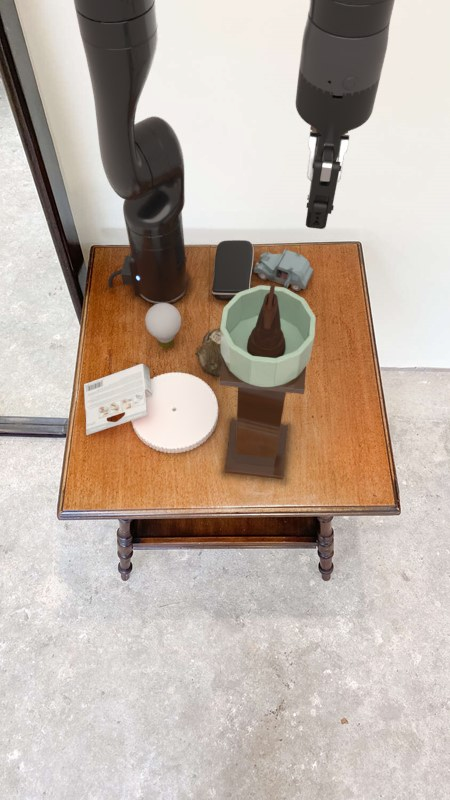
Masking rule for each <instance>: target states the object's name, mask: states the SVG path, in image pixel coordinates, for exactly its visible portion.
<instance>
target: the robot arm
mask: <svg viewBox="0 0 450 800" xmlns="http://www.w3.org/2000/svg"><path fill="white" fill-rule="evenodd" d="M395 1H396V0H309V4H308V11H307V12H308V13H307V17H306V21H305V25H304V29H303V34H302V39H301V49H300V58H299V67H298V68H299V69H298V75H297V85H296V93H295V94H296V95H295V109H296V111H297V114H298V115H299V117H300V118H301V119H302V120H303V122H305V123H306V124H308V125H309V126H310V128H309V129H310V131H309V136H308V137H309V138H308V145H307V147H308V150H309V154H308V155H309V156H308V163H307V171H306V178H307V180H309V181H310V186H309V192H308V194H307V197H306V200H307V202H306V208H305V209H307V213H306V218H305V226H306V228H309V229H316V230H317V229H319V230H325V229H326V227H327V224H328V217H329V215H331V214H332V211H334V207H335V206H334V200H335V197H336V191H337V185H338V183H339V182H340V181H341V177H342V172H343V166H344V160H345V159H344V157H345V155H346V153H347V152H348V150H349V149H348V148H349V144H350V143H349V142H350V134H349V132H350V131H353V130H356V129H358V128H359V127H362V126H363V125H364V124H365V123H367V121H369V119H370V117H371V116H372V114H373V110H374V106H375V102H376V98H377V94H378V89H379V85H380V79H381V76H382V73H383V67H384V63H385V58H386V54H387V49H388V44H389V33H390V25H391V18H392V15H393V10H394V5H395ZM73 4H74V9H75V15H76V19H77V24H78V28H79V34H80V38H81V43H82V46H83V50H84V54H85V58H86V64H87V68H88V73H89V78H90V84H91V88H92V89H91V90H92V94H93V101H94V111H95V119H96V130H97V137H98V146H99V155H100V160H101V164H102V167H103V171H104V174H105V177H106V179H107V182H108V183H109V185H110V187H111V188H112V190H113V192H114V193H115V194H116V195H117V196H118V197H119V198H121V199H123V203H122V211H123V213H122V214H123V219H124V223H125V229H126V234H127V239H128V244H129V250H130V251H129V255H125V257H124V261H123V265H122V268H121V269H118V270H116V271H114V272H112V273H111V274H110V275H109V277H108V285H107V287H109V288H112V287H113V283H114V282H113V281H114V279H115V278H116V277H117V276H119V275H120V276H121V281H122V285H125V286H132V288H133V292H134V296H135V297H140V298H141V299H142V300H143V301H145V302H147V303H149V304H151V305H153V306H154V305H156V304H158V303H168V304H171V305H173V304H174V303H177V302H179V300H181V299H182V298H183V297H184V296H185V295H186V293H187V291H188V289H189V278H188V271H187V264H188V263H187V255H186V247H185V235H184V225H183V210H184V207H185V203H186V202H185V201H186V196H185V195H186V194H185V191H186V190H185V160H184V153H183V148H182V145H181V142H180V139H179V137H178V135H177V133H176V131H175V129H174V128H173V127H172V125H171V124H170V123H169V122H168V121H167V120H165V119H164V118H162V117H159V116H153V115H152V116H149V117H146V118H144V119H142V120H140V121H138V122H136V121H135V120H136V112H137V109H138V104H139V102H140V98H141V96H142V93H143V92H144V91H143V90H144V88H145V85H146V82H147V80H148V77H149V74H150V72H151V70H152V66H153V63H154V60H155V57H156V53H157V49H158V42H159V41H158V40H159V27H158V17H157V5H156V0H73Z"/></svg>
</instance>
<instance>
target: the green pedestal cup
mask: <svg viewBox="0 0 450 800" xmlns="http://www.w3.org/2000/svg"><path fill="white" fill-rule="evenodd" d="M270 287H271V285H263V284H260V285H259V284H258V285H256V286H253V287H250V289H247V290H244V291H241V292H239V293H237V294H236V295H235V297H234V298H233V299H232V300H229V302H228V303H227V304H226V305H225V306H224V307H223V309H222V314H221V320H220V327H219V328H220V341H221V354H222V356H223V360H222V367H221V373H220V376H219V380H218V383H219V384H218V385H219V386H222V387H233V388H237V399H236V400H237V403H236V419H234V418H231V423H230V430H229V431H230V432H229V438H228V443H227V444H228V445H227V453H226V458H225V459H226V460H225V466H224V474H225V473H226V474H233V475H242V476H250V477H257V478H258V477H260V478H269V479H277V480H283V479H284V475H285V474H284V473H285V463H286V462H285V461H286V452H287V451H286V450H287V441H288V440H287V438H288V429H289V425H288V424H282V420H283V413H284V406H285V400H286V394H287V393H288V394H289V393H290V394H297V395H298V394H299V395H304V394H305V388H306V376H307V365H308V364H309V363H310V361H311V355H312V353H313V352H312V351H313V347H314V341H315V334H316V322H317V317H316V315H315V313H314V312H313V310H312V308H311V307H310V305H309V304H308V302H307V300H306V299H305V298H304V297H302V296H300V295H299V294H297V293H295V292H293V291H291V290H290V289H288V288H287V289H286V288H285V287H284V286H275V291H274V294H276V295H277V298H278V305H279V312H280V322H281V330H282V332H283V334H284V338H285V343H286V344H285V345H286V349H285V353H284V355H283V356H281V357H278V358H268V357H259V356H252V355H250V354H249V353H248V351H247V342H248V338H249V336H250V334H251V332H252V330H253V329H254V327H255V326H256V322H257V319H258V316H259V313H260V310H261V307H262V305H263V302H264V298H265V296H266V294H268V293H269V292H270Z"/></svg>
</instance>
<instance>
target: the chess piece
mask: <svg viewBox="0 0 450 800" xmlns="http://www.w3.org/2000/svg"><path fill="white" fill-rule="evenodd" d="M270 286H271V287H270V292H269V293H268V294H266V296H265V298H264V302H263V305H262V307H261V310H260V313H259V316H258V319H257V322H256V326H255V327H254V329H253V330H252V332H251V334H250V336H249V338H248V342H247V351H248V353H249V354H250V355H252V356H259V357H268V358H278V357H281V356H283V355H284V353H285V349H286V345H285V344H286V343H285V338H284V334H283V332H282V330H281V322H280V312H279V305H278V298H277V295H276V294H274V291H275V287H276V285H275V284H270Z"/></svg>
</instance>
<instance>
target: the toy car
mask: <svg viewBox="0 0 450 800" xmlns="http://www.w3.org/2000/svg"><path fill="white" fill-rule="evenodd" d="M255 263H256V264H255V266H254V267H253V273H256V274H257V276H258V278H259V279H261V280H268V281H271V282H274V283H277V284H280V285H282V286H283V287H284V288H286V289H288V288H289V286H290V288H291V289H292V290H293V291H296V292H299V291H301V289H302V290H306V289H307V286H308V284H309V282H310V280H311V278H312V276H313V274H314V269H313V268H312V265H311V263H310V262H309V259H307V258H306V257H305V256H303V255H302V254H301V253H297V252H295V251H291V250H288V249H283V251H282V253H271V252H269V251H265V252H263V253H261V254H260V257H259V262H255Z"/></svg>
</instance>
